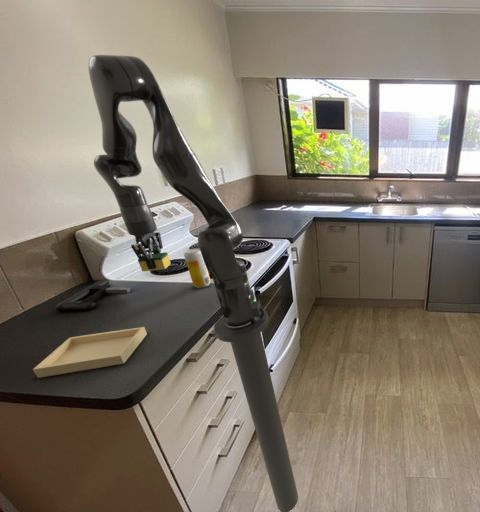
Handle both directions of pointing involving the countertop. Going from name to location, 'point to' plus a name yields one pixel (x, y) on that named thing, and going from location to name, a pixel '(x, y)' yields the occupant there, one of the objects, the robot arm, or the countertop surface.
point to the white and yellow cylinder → (197, 268)
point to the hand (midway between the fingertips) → (156, 265)
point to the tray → (91, 352)
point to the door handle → (88, 304)
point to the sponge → (156, 262)
